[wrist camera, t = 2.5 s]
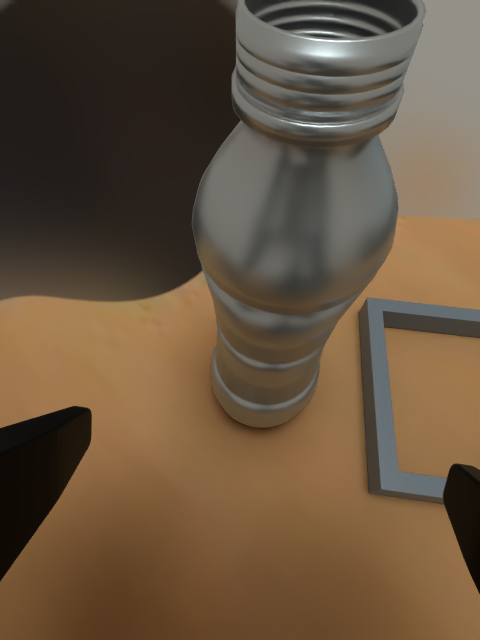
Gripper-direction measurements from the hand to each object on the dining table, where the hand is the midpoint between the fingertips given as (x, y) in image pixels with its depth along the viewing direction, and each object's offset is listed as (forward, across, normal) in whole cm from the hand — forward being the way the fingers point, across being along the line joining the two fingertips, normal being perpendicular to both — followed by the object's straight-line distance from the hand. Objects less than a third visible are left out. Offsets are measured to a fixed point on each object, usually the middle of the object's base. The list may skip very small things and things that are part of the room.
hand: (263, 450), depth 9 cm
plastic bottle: (+14, 0, +5) cm, 15 cm away
